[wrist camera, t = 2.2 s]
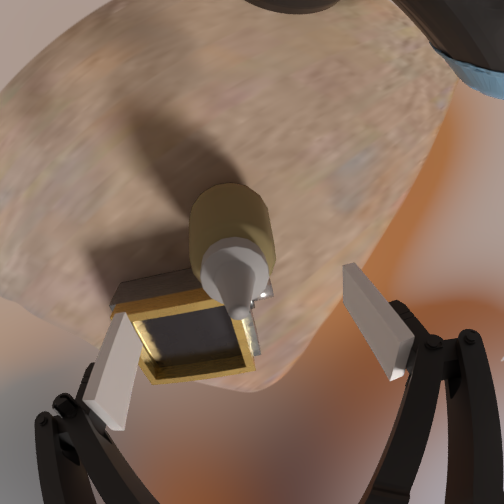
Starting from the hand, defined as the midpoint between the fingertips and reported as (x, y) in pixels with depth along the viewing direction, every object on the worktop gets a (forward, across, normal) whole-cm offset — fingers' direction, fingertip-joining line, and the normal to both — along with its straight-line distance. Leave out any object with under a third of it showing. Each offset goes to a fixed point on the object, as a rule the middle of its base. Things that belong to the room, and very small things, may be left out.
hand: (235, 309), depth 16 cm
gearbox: (+18, -6, -12) cm, 22 cm away
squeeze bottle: (+18, 0, 0) cm, 18 cm away
